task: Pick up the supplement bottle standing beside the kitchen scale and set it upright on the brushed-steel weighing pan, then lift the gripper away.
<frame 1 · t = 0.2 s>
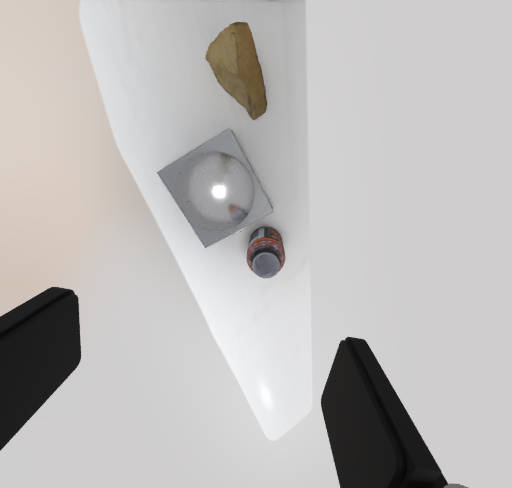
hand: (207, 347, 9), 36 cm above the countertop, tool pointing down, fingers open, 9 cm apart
scale base: (220, 189, 43), on the countertop
rock: (238, 86, 38), on the countertop
scale pan: (215, 193, 39), point 5 cm above the countertop, slide at 0.4 cm
supplement bottle: (265, 241, 46), on the countertop
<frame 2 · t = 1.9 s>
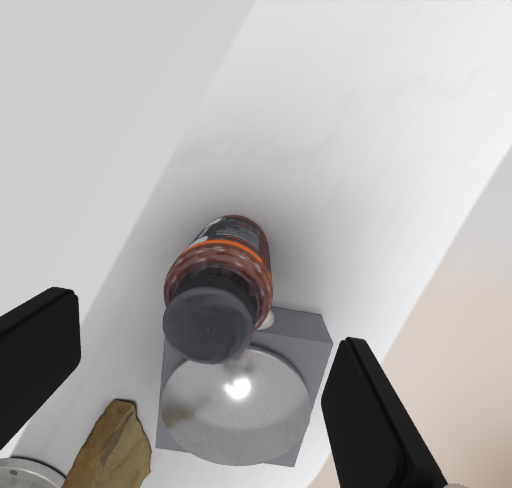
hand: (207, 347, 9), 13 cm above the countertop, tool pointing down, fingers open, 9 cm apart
scale base: (240, 364, 25), on the countertop
rock: (132, 433, 28), on the countertop
scale pan: (236, 408, 20), point 5 cm above the countertop, slide at 0.4 cm
supplement bottle: (234, 247, 22), on the countertop
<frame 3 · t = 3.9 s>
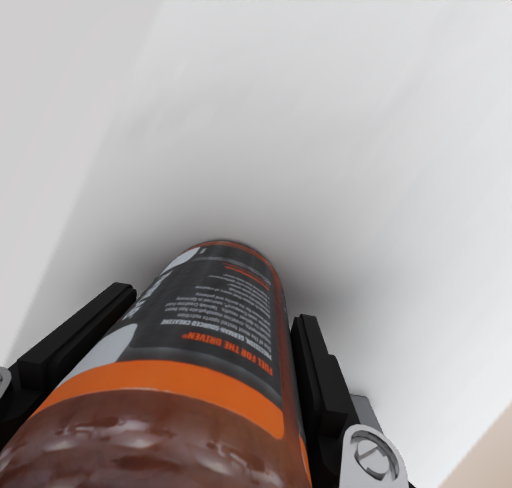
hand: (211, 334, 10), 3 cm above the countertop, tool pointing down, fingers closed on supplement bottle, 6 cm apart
scale base: (236, 462, 16), on the countertop
supplement bottle: (224, 292, 13), on the countertop, touching gripper
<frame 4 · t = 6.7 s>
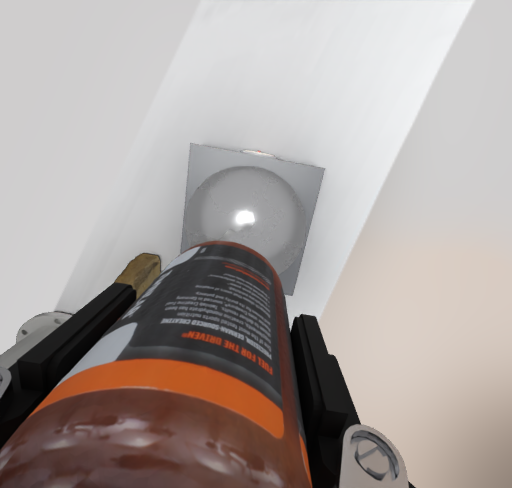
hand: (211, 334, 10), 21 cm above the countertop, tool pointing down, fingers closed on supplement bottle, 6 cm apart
scale base: (248, 218, 30), on the countertop
rock: (156, 290, 33), on the countertop
scale pan: (245, 228, 25), point 5 cm above the countertop, slide at 0.4 cm
supplement bottle: (224, 291, 13), point 18 cm above the countertop, touching gripper
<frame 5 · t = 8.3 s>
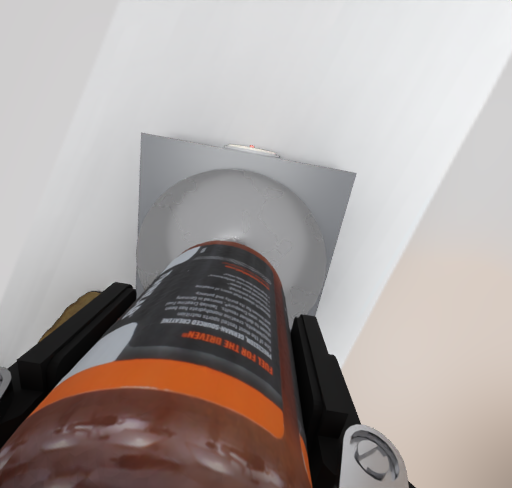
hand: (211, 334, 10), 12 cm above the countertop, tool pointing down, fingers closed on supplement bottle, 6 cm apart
scale base: (238, 243, 21), on the countertop
rock: (113, 338, 24), on the countertop
scale pan: (231, 265, 16), point 5 cm above the countertop, slide at 0.4 cm
supplement bottle: (224, 291, 13), point 8 cm above the countertop, touching gripper
when the fingers open (10 cm above the countertop, at t = 9.6 s): supplement bottle drops 2 cm, resting on scale pan.
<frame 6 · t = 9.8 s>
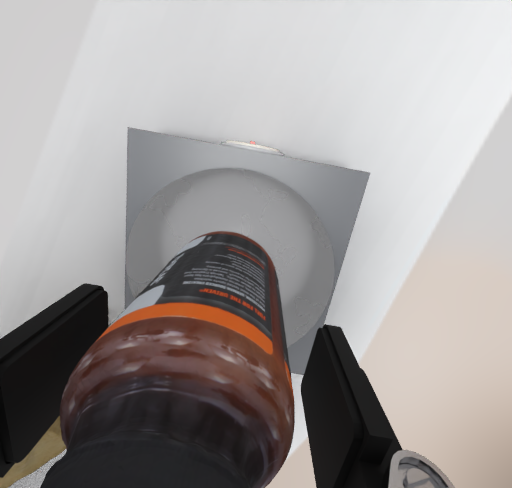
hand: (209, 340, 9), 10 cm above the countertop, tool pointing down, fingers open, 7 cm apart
scale base: (237, 248, 19), on the countertop
rock: (104, 349, 23), on the countertop
scale pan: (230, 273, 15), point 5 cm above the countertop, slide at 0.7 cm, touching supplement bottle
supplement bottle: (226, 276, 15), point 5 cm above the countertop, touching scale pan
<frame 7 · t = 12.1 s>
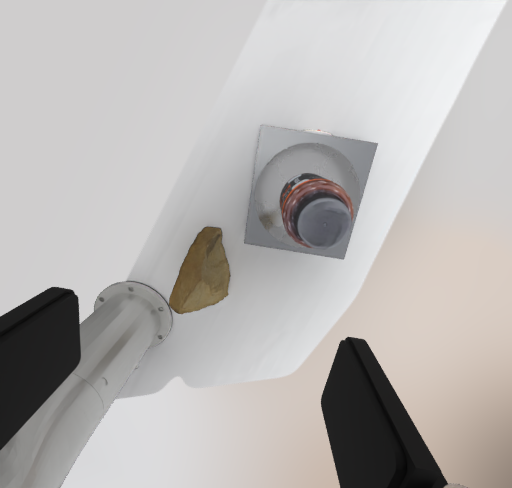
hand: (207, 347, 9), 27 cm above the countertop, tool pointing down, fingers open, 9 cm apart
scale base: (301, 192, 33), on the countertop
rock: (216, 260, 38), on the countertop
scale pan: (306, 198, 29), point 5 cm above the countertop, slide at 0.7 cm, touching supplement bottle
supplement bottle: (304, 199, 29), point 5 cm above the countertop, touching scale pan
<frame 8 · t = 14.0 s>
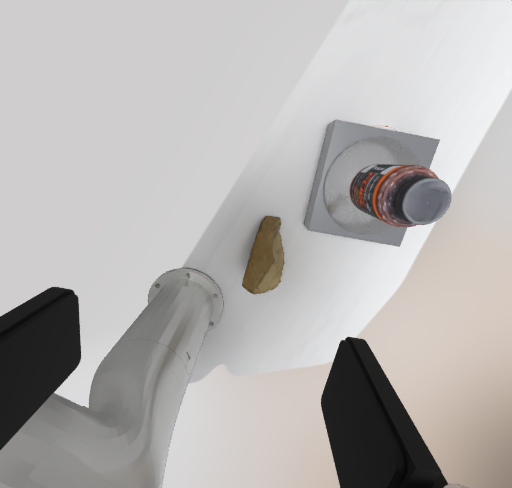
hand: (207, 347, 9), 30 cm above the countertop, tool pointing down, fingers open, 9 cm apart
scale base: (358, 185, 36), on the countertop
rock: (271, 248, 40), on the countertop
scale pan: (371, 188, 32), point 5 cm above the countertop, slide at 0.7 cm, touching supplement bottle
supplement bottle: (370, 188, 32), point 5 cm above the countertop, touching scale pan
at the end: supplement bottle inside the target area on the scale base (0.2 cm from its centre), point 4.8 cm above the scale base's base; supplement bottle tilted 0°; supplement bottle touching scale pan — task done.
